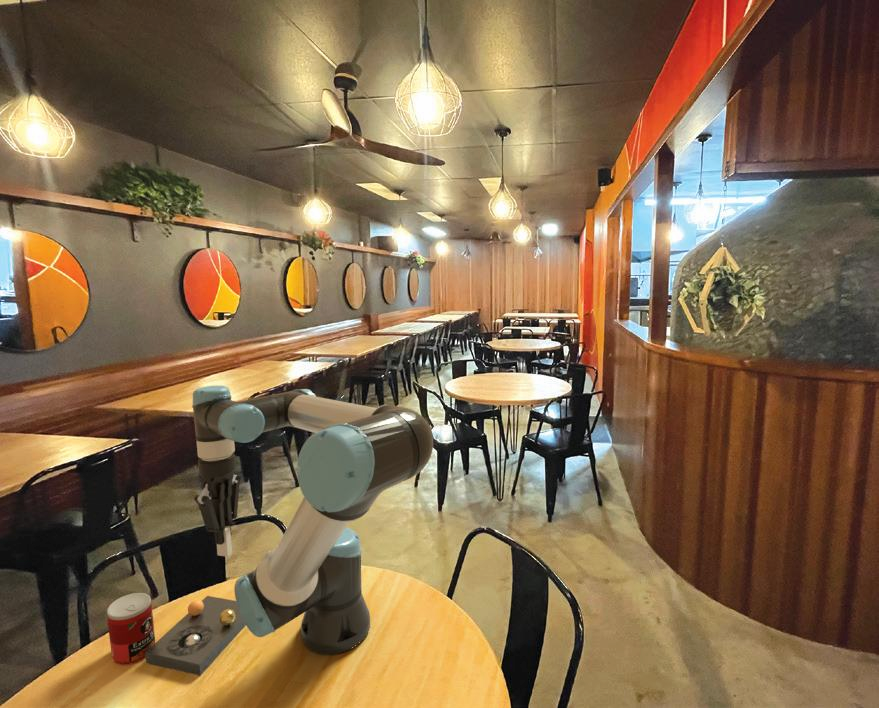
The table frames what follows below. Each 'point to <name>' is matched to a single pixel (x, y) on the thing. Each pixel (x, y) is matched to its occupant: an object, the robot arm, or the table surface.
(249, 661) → the table surface
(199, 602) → the orange ball
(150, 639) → the canned food
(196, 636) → the steel ball
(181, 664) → the bearing plate
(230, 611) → the brass ball
